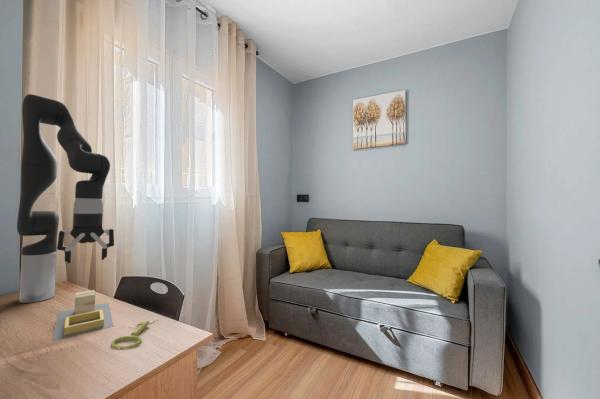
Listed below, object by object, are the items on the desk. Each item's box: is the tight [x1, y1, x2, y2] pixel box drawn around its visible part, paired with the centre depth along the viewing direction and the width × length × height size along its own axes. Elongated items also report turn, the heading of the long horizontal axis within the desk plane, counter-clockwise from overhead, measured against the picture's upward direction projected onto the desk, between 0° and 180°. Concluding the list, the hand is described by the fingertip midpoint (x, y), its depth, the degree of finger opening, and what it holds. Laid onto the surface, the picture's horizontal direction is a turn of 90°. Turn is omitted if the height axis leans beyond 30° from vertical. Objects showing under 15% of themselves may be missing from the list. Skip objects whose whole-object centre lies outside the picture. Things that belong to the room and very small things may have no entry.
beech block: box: [74, 289, 96, 315], centre depth 83 cm, size 5×5×6 cm
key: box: [110, 320, 150, 350], centre depth 70 cm, size 7×12×2 cm, turn 20°
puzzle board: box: [51, 302, 114, 342], centre depth 78 cm, size 22×13×3 cm, turn 41°
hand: (86, 261), depth 83 cm, fingers open, 8 cm apart
